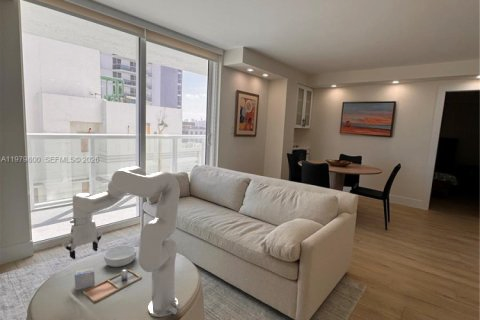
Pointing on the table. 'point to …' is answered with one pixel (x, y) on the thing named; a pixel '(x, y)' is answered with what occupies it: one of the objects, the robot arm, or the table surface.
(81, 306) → the table surface
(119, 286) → the board
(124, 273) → the peg
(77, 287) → the medicine box
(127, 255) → the cereal bowl
